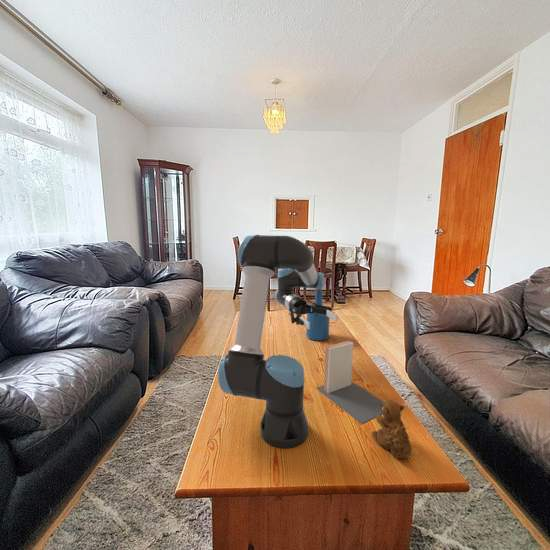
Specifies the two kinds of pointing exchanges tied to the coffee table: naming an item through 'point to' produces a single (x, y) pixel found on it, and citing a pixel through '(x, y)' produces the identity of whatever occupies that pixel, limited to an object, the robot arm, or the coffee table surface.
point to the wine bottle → (318, 321)
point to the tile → (338, 366)
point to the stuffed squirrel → (392, 430)
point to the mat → (355, 402)
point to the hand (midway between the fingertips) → (323, 322)
